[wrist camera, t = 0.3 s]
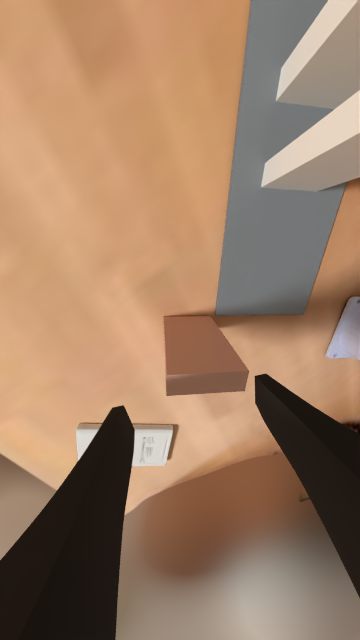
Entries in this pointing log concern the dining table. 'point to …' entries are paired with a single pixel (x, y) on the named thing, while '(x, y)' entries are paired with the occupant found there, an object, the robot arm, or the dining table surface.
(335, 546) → the robot arm
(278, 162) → the domino
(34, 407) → the dining table surface
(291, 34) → the mat
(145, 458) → the external hard drive
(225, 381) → the domino
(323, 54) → the domino
